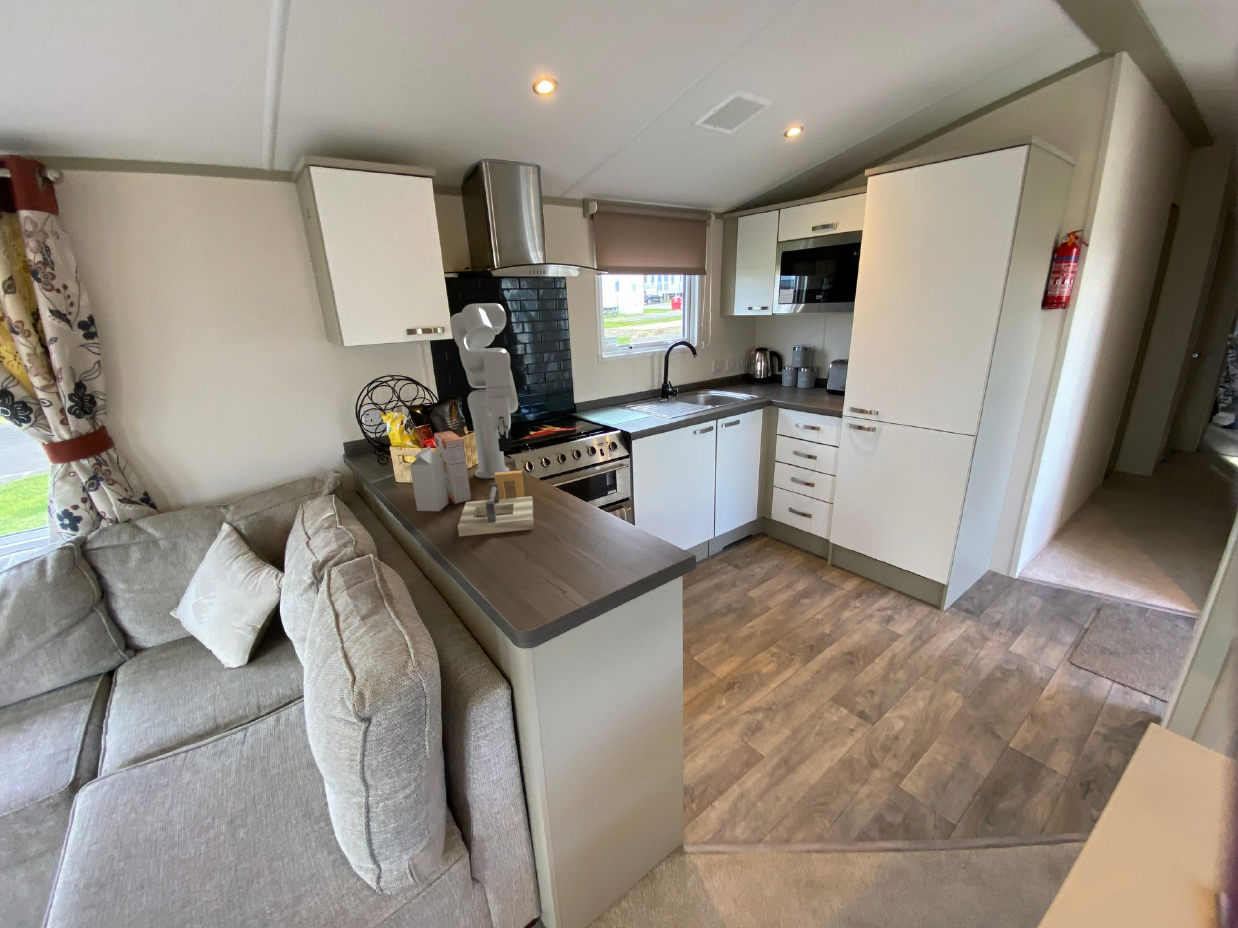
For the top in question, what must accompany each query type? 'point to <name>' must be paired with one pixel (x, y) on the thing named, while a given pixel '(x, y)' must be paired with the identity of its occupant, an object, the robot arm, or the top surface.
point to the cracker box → (454, 466)
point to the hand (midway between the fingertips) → (505, 447)
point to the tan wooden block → (509, 476)
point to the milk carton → (429, 481)
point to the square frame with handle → (493, 507)
